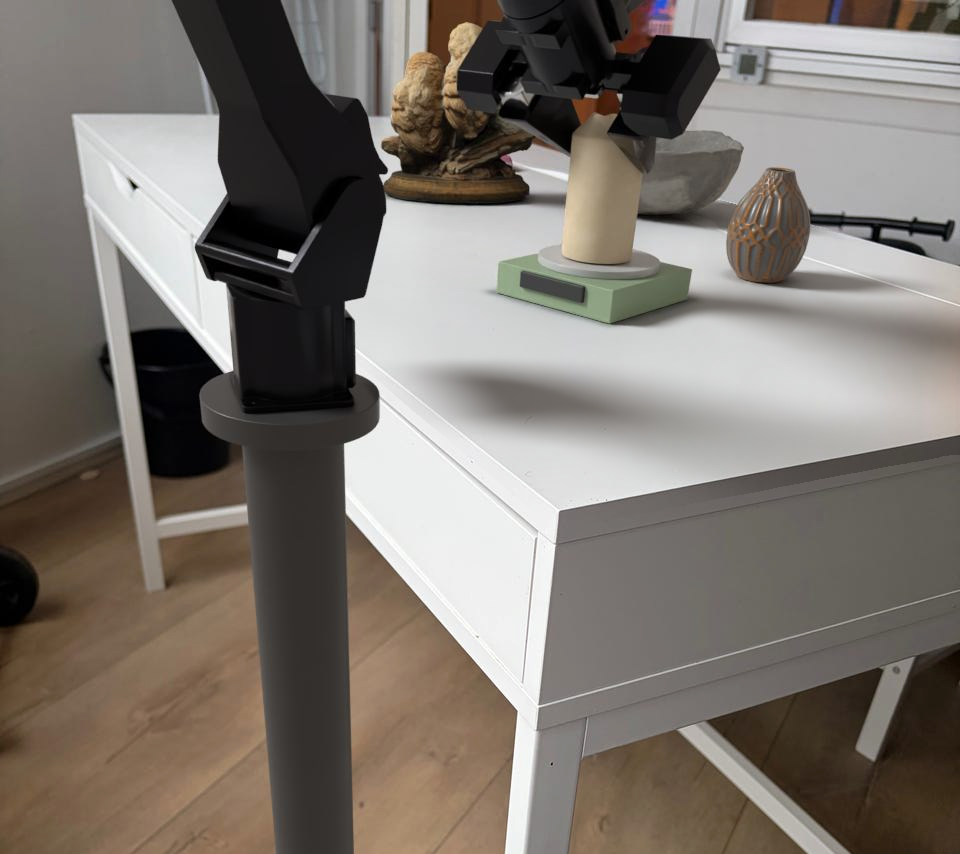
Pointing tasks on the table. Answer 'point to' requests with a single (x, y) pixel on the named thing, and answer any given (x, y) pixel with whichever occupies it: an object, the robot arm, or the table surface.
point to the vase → (769, 228)
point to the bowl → (689, 172)
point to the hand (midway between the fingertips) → (616, 163)
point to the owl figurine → (450, 136)
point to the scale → (594, 284)
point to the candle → (600, 197)
